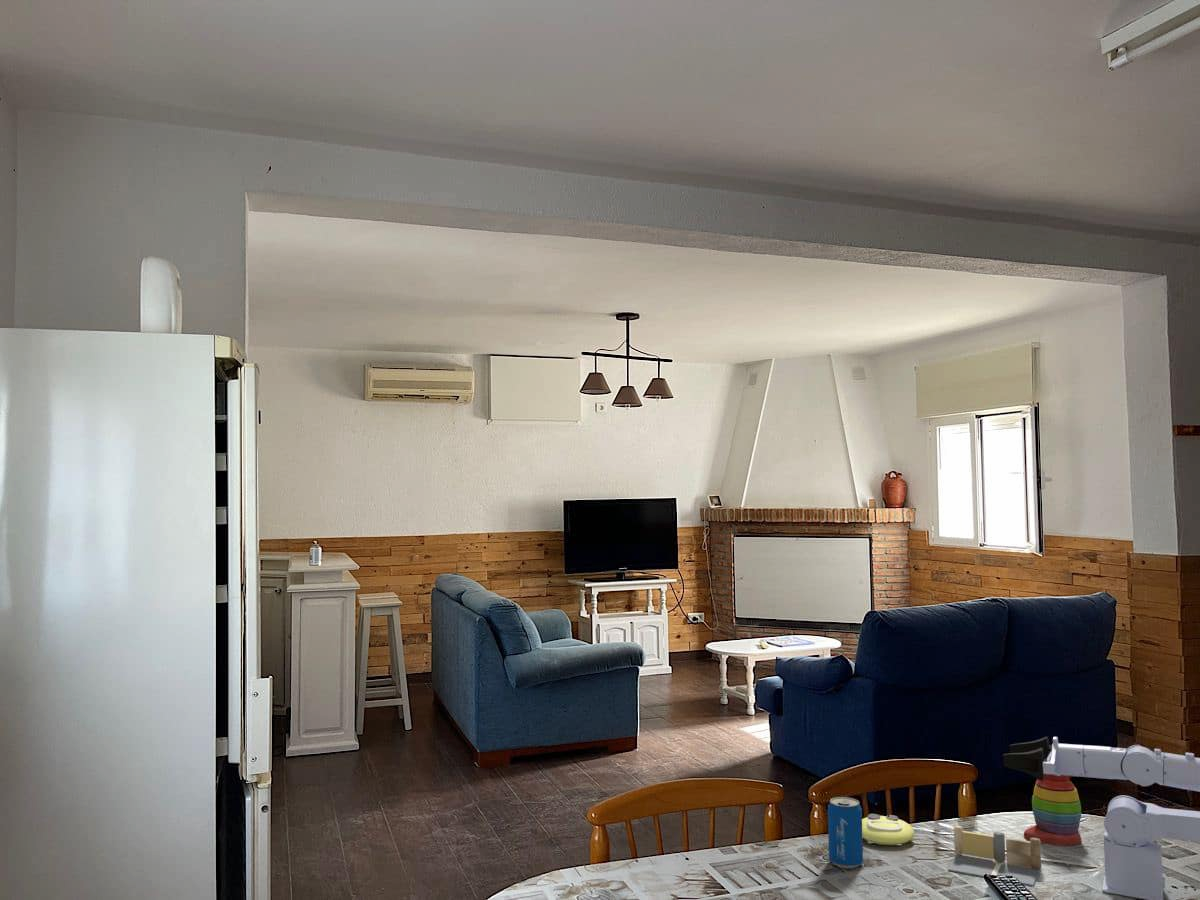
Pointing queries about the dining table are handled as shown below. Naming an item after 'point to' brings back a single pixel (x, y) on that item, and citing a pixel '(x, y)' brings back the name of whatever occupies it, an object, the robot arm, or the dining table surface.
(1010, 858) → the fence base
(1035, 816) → the stacking bear
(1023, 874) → the card
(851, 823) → the beverage can
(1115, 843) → the robot arm
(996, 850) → the fence panel
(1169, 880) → the dining table surface
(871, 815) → the emoji
